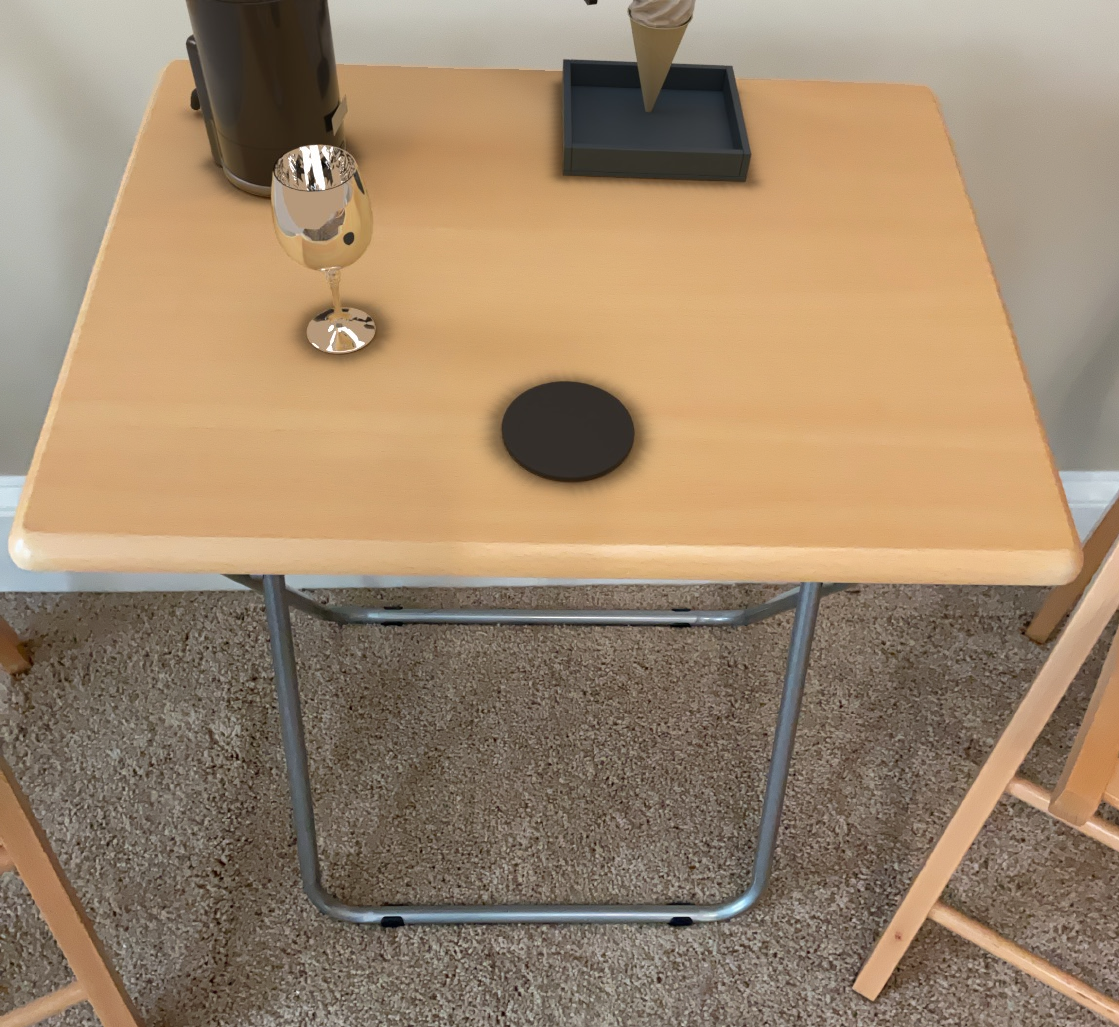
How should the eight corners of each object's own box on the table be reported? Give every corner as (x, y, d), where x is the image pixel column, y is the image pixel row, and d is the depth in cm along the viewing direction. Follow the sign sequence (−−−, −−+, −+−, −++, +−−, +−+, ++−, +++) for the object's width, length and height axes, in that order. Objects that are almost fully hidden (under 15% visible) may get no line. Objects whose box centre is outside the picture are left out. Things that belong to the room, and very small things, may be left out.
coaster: (476, 447, 62) (476, 442, 61) (544, 368, 66) (544, 364, 66) (594, 501, 59) (594, 497, 59) (656, 416, 64) (656, 412, 64)
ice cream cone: (674, 131, 84) (703, -66, 72) (613, 122, 84) (631, -75, 72) (682, 100, 87) (711, -95, 75) (623, 91, 87) (642, -104, 75)
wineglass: (313, 371, 65) (281, 208, 56) (284, 316, 68) (249, 152, 59) (399, 345, 67) (382, 182, 58) (367, 292, 70) (345, 130, 61)
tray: (562, 175, 80) (564, 147, 78) (561, 86, 88) (563, 58, 86) (745, 181, 80) (751, 154, 78) (727, 92, 88) (732, 65, 87)
